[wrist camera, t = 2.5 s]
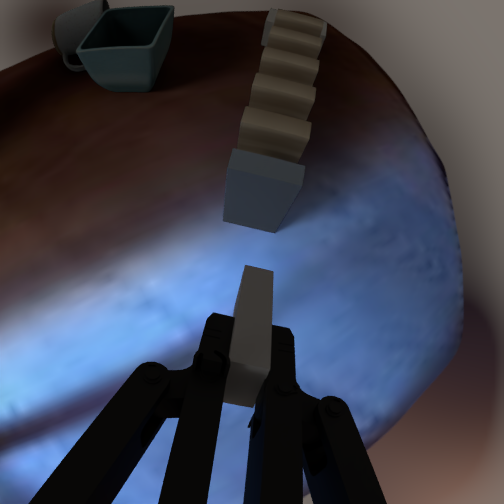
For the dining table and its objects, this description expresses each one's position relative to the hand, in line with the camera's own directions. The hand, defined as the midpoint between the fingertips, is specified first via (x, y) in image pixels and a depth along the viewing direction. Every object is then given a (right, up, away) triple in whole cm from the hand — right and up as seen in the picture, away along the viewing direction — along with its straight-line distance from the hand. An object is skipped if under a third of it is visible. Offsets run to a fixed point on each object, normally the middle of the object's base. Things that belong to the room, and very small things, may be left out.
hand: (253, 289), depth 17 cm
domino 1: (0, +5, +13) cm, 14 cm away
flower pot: (-14, +23, +16) cm, 32 cm away
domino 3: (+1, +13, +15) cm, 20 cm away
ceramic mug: (-24, +31, +17) cm, 43 cm away
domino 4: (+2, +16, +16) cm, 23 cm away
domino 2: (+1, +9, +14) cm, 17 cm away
